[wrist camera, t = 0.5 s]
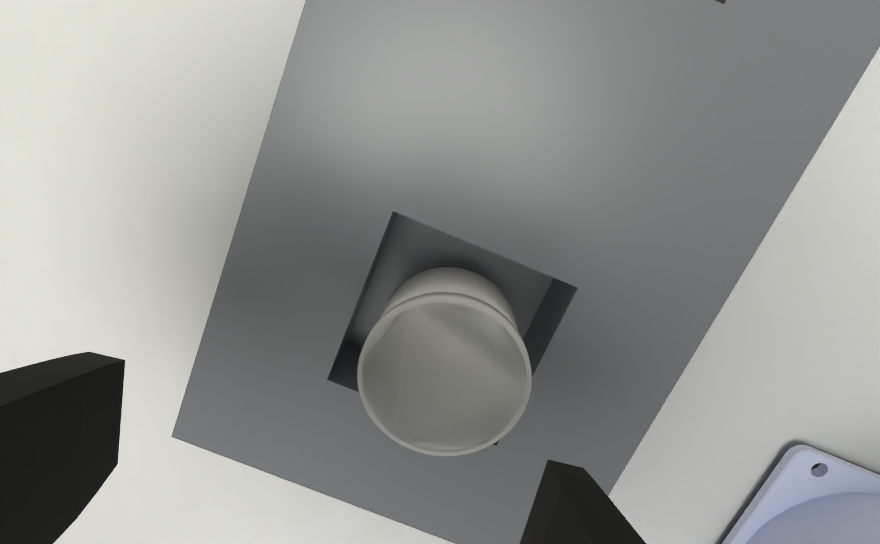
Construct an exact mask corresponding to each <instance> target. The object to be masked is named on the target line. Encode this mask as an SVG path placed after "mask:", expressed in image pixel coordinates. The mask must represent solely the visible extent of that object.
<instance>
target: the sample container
mask: <svg viewBox="0 0 880 544" xmlns="http://www.w3.org/2000/svg"><path fill="white" fill-rule="evenodd" d="M357 381H358V389H359V393H360V397H361V400H362V402H363V405H364V407H365V409H366V411H367V413H368V414H369V416H370V418H371V419H372V420H373V421H374V423H375V424H376V425H377V426H378V427H379V428H380V429H381V430H382V431H383V432H384V433H385V434H386V435H387V436H389V437H390V438H391V439H392V440H394V441H396V442H397V443H399V444H401V445H402V446H405V447H407V448H409V449H411V450H414V451H417V452H420V453H424V454H429V455H436V456H457V455H464V454H469V453H472V452H476V451H479V450H481V449H484V448H486V447H488V446H490V445H492V444H493V443H495V442H497V441H498V440H499V439H501V438H502V437H504V436H505V435H506V434H507V433H508V432H509V431H510V430H511V429H512V428H513V427H514V426H515V424H516V423H517V422H518V421H519V419H520V417H521V416H522V414H523V412H524V410H525V408H526V406H527V403H528V400H529V396H530V393H531V385H532V372H531V366H530V361H529V357H528V353H527V350H526V347H525V344H524V341H523V339H522V337H521V335H520V334H519V332H518V329H517V324H516V320H515V316H514V313H513V310H512V307H511V305H510V303H509V301H508V300H507V298H506V297H505V295H504V294H503V293H502V292H501V290H500V289H499V288H498V287H497V286H496V285H495V284H493V283H492V282H491V281H490V280H488V279H486V278H485V277H483V276H481V275H479V274H477V273H475V272H472V271H469V270H466V269H461V268H455V267H439V268H433V269H429V270H426V271H422V272H420V273H418V274H416V275H413V276H412V277H410V278H409V279H407V280H406V281H404V282H403V283H402V284H401V285H400V286H399V287H398V288H397V289H396V290H395V291H394V292H393V294H392V295H391V296H390V298H389V299H388V301H387V303H386V305H385V308H384V310H383V312H382V315H381V317H380V319H379V320H378V321H377V323H376V324H375V325H374V327H373V328H372V330H371V331H370V333H369V335H368V337H367V339H366V341H365V343H364V346H363V348H362V351H361V354H360V357H359V362H358V368H357Z"/></svg>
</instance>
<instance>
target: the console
mask: <svg viewBox="0 0 880 544" xmlns="http://www.w3.org/2000/svg"><path fill="white" fill-rule="evenodd" d="M879 47H880V0H306V1H305V4H304V8H303V11H302V14H301V17H300V21H299V24H298V27H297V30H296V34H295V37H294V40H293V43H292V47H291V50H290V53H289V56H288V60H287V63H286V66H285V69H284V73H283V76H282V79H281V82H280V86H279V89H278V92H277V95H276V99H275V102H274V105H273V108H272V112H271V115H270V118H269V121H268V125H267V128H266V131H265V134H264V138H263V141H262V144H261V147H260V151H259V154H258V157H257V160H256V164H255V167H254V170H253V173H252V177H251V180H250V183H249V186H248V190H247V193H246V196H245V199H244V203H243V206H242V209H241V212H240V216H239V219H238V222H237V225H236V229H235V232H234V235H233V238H232V242H231V245H230V248H229V251H228V255H227V258H226V261H225V264H224V268H223V271H222V274H221V277H220V281H219V284H218V287H217V290H216V294H215V297H214V300H213V303H212V307H211V310H210V313H209V316H208V320H207V323H206V326H205V329H204V333H203V336H202V339H201V342H200V346H199V349H198V352H197V355H196V359H195V362H194V365H193V368H192V372H191V375H190V378H189V381H188V385H187V388H186V391H185V394H184V398H183V401H182V404H181V407H180V411H179V414H178V417H177V420H176V424H175V427H174V430H173V433H172V437H173V438H176V439H179V440H181V441H184V442H187V443H189V444H192V445H195V446H197V447H200V448H203V449H205V450H208V451H211V452H213V453H216V454H219V455H221V456H224V457H227V458H229V459H232V460H235V461H237V462H240V463H243V464H245V465H248V466H251V467H253V468H256V469H259V470H261V471H264V472H267V473H269V474H272V475H275V476H277V477H280V478H283V479H285V480H288V481H291V482H293V483H296V484H299V485H301V486H304V487H306V488H309V489H312V490H314V491H317V492H320V493H322V494H325V495H328V496H330V497H333V498H336V499H338V500H341V501H344V502H346V503H349V504H352V505H354V506H357V507H360V508H362V509H365V510H368V511H370V512H373V513H376V514H378V515H381V516H384V517H386V518H389V519H392V520H394V521H397V522H400V523H402V524H405V525H408V526H410V527H413V528H416V529H418V530H421V531H424V532H426V533H429V534H432V535H434V536H437V537H439V538H442V539H445V540H447V541H450V542H453V543H455V544H520V541H521V538H522V535H523V532H524V529H525V526H526V523H527V520H528V517H529V514H530V511H531V508H532V505H533V502H534V499H535V496H536V493H537V490H538V487H539V484H540V481H541V478H542V475H543V472H544V469H545V466H546V463H547V460H553V461H557V462H561V463H565V464H570V465H574V466H578V467H582V468H584V469H585V470H586V471H587V472H588V473H589V474H590V476H591V477H592V478H593V479H594V480H595V481H596V483H597V484H598V485H599V486H600V487H601V489H602V490H603V491H604V492H605V494H606V495H607V496H608V495H609V493H610V492H611V490H612V488H613V487H614V485H615V483H616V482H617V480H618V478H619V477H620V475H621V473H622V472H623V470H624V468H625V467H626V465H627V463H628V462H629V460H630V458H631V457H632V455H633V454H634V452H635V450H636V449H637V447H638V445H639V444H640V442H641V440H642V439H643V437H644V435H645V434H646V432H647V430H648V429H649V427H650V425H651V424H652V422H653V420H654V419H655V417H656V415H657V414H658V412H659V411H660V409H661V407H662V406H663V404H664V402H665V401H666V399H667V397H668V396H669V394H670V392H671V391H672V389H673V387H674V386H675V384H676V382H677V381H678V379H679V377H680V376H681V374H682V373H683V371H684V369H685V368H686V366H687V364H688V363H689V361H690V359H691V358H692V356H693V354H694V353H695V351H696V349H697V348H698V346H699V344H700V343H701V341H702V339H703V338H704V336H705V335H706V333H707V331H708V330H709V328H710V326H711V325H712V323H713V321H714V320H715V318H716V316H717V315H718V313H719V311H720V310H721V308H722V306H723V305H724V303H725V301H726V300H727V298H728V296H729V295H730V293H731V292H732V290H733V288H734V287H735V285H736V283H737V282H738V280H739V278H740V277H741V275H742V273H743V272H744V270H745V268H746V267H747V265H748V263H749V262H750V260H751V258H752V257H753V255H754V254H755V252H756V250H757V249H758V247H759V245H760V244H761V242H762V240H763V239H764V237H765V235H766V234H767V232H768V230H769V229H770V227H771V225H772V224H773V222H774V220H775V219H776V217H777V215H778V214H779V212H780V211H781V209H782V207H783V206H784V204H785V202H786V201H787V199H788V197H789V196H790V194H791V192H792V191H793V189H794V187H795V186H796V184H797V182H798V181H799V179H800V177H801V176H802V174H803V173H804V171H805V169H806V168H807V166H808V164H809V163H810V161H811V159H812V158H813V156H814V154H815V153H816V151H817V149H818V148H819V146H820V144H821V143H822V141H823V139H824V138H825V136H826V134H827V133H828V131H829V130H830V128H831V126H832V125H833V123H834V121H835V120H836V118H837V116H838V115H839V113H840V111H841V110H842V108H843V106H844V105H845V103H846V101H847V100H848V98H849V96H850V95H851V93H852V92H853V90H854V88H855V87H856V85H857V83H858V82H859V80H860V78H861V77H862V75H863V73H864V72H865V70H866V68H867V67H868V65H869V63H870V62H871V60H872V58H873V57H874V55H875V54H876V52H877V50H878V49H879ZM439 267H455V268H461V269H466V270H469V271H472V272H475V273H477V274H479V275H481V276H483V277H485V278H486V279H488V280H490V281H491V282H492V283H493V284H495V285H496V286H497V287H498V288H499V289H500V290H501V292H502V293H503V294H504V295H505V297H506V298H507V300H508V301H509V303H510V305H511V307H512V310H513V313H514V316H515V320H516V324H517V329H518V332H519V334H520V335H521V337H522V339H523V341H524V344H525V347H526V350H527V353H528V357H529V361H530V366H531V372H532V385H531V393H530V396H529V400H528V403H527V406H526V408H525V410H524V412H523V414H522V416H521V417H520V419H519V421H518V422H517V423H516V424H515V426H514V427H513V428H512V429H511V430H510V431H509V432H508V433H507V434H506V435H505V436H504V437H502V438H501V439H499V440H498V441H497V442H495V443H493V444H492V445H490V446H488V447H486V448H484V449H481V450H479V451H476V452H472V453H469V454H464V455H457V456H436V455H429V454H424V453H420V452H417V451H414V450H411V449H409V448H407V447H405V446H402V445H401V444H399V443H397V442H396V441H394V440H392V439H391V438H390V437H389V436H387V435H386V434H385V433H384V432H383V431H382V430H381V429H380V428H379V427H378V426H377V425H376V424H375V423H374V421H373V420H372V419H371V418H370V416H369V414H368V413H367V411H366V409H365V407H364V405H363V402H362V400H361V397H360V393H359V389H358V381H357V368H358V362H359V357H360V354H361V351H362V348H363V346H364V343H365V341H366V339H367V337H368V335H369V333H370V331H371V330H372V328H373V327H374V325H375V324H376V323H377V321H378V320H379V319H380V317H381V315H382V312H383V310H384V308H385V305H386V303H387V301H388V299H389V298H390V296H391V295H392V294H393V292H394V291H395V290H396V289H397V288H398V287H399V286H400V285H401V284H402V283H403V282H404V281H406V280H407V279H409V278H410V277H412V276H413V275H416V274H418V273H420V272H422V271H426V270H429V269H433V268H439Z"/></svg>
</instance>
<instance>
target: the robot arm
mask: <svg viewBox="0 0 880 544" xmlns="http://www.w3.org/2000/svg"><path fill="white" fill-rule="evenodd" d="M124 367H125V360H122V359H118V358H113V357H109V356H105V355H101V354H96V353H92V352H85V353H79V354H74V355H69V356H64V357H60V358H56V359H52V360H48V361H44V362H40V363H36V364H32V365H28V366H25V367H21V368H17V369H13V370H10V371H6V372H2V373H0V544H53V543H54V542H55V541H56V540H57V539H58V538H59V537H60V536H61V535H62V534H63V532H64V531H65V530H66V529H67V528H68V527H69V526H70V525H71V524H72V523H73V522H74V521H75V520H76V519H77V517H78V516H79V515H80V513H81V512H82V511H83V510H84V508H85V507H86V506H87V504H88V503H89V502H90V501H91V499H92V498H93V497H94V495H95V494H96V493H97V491H98V490H99V489H100V487H101V486H102V485H103V483H104V482H105V481H106V479H107V478H108V476H109V475H110V474H111V472H112V471H113V470H114V468H115V467H116V465H117V464H118V450H119V436H120V422H121V409H122V395H123V381H124ZM818 463H820V465H819V466H818V467H817V468H815V469H812V470H811V468H812V467H813V466H814V465H815V464H818ZM520 544H646V543H645V542H644V541H643V539H642V538H641V537H640V536H639V535H638V533H637V532H636V531H635V530H634V528H633V527H632V526H631V525H630V523H629V522H628V521H627V520H626V519H625V517H624V516H623V515H622V514H621V512H620V511H619V510H618V509H617V507H616V506H615V505H614V504H613V502H612V501H611V500H610V499H609V497H608V496H607V495H606V494H605V492H604V491H603V490H602V489H601V487H600V486H599V485H598V484H597V483H596V481H595V480H594V479H593V478H592V477H591V476H590V474H589V473H588V472H587V471H586V470H585V469H584V468H582V467H578V466H574V465H570V464H565V463H561V462H557V461H553V460H547V463H546V466H545V469H544V472H543V475H542V478H541V481H540V484H539V487H538V490H537V493H536V496H535V499H534V502H533V505H532V508H531V511H530V514H529V517H528V520H527V523H526V526H525V529H524V532H523V535H522V538H521V541H520ZM722 544H880V475H879V474H876V473H874V472H871V471H869V470H867V469H864V468H862V467H859V466H857V465H854V464H852V463H849V462H847V461H844V460H842V459H839V458H837V457H835V456H832V455H830V454H827V453H825V452H822V451H820V450H817V449H815V448H812V447H810V446H807V445H796V446H794V447H792V448H790V449H789V450H788V451H787V452H786V453H785V454H784V456H783V457H782V459H781V460H780V461H779V463H778V464H777V466H776V467H775V469H774V470H773V471H772V473H771V474H770V476H769V477H768V479H767V480H766V481H765V483H764V484H763V486H762V487H761V488H760V490H759V491H758V493H757V494H756V496H755V497H754V498H753V500H752V501H751V503H750V504H749V506H748V507H747V508H746V510H745V511H744V513H743V514H742V516H741V517H740V518H739V520H738V521H737V523H736V524H735V526H734V527H733V528H732V530H731V531H730V533H729V534H728V536H727V537H726V538H725V540H724V541H723V543H722Z"/></svg>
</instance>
